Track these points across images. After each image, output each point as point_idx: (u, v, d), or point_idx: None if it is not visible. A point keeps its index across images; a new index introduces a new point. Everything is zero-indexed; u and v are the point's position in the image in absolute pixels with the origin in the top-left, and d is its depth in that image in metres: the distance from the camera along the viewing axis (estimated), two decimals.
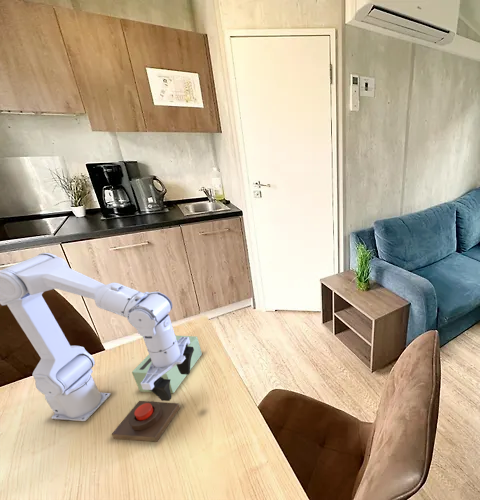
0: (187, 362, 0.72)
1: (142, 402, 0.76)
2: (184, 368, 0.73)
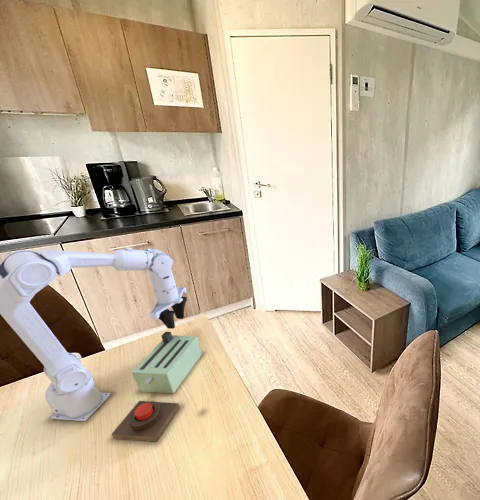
0: (181, 308, 0.92)
1: (142, 402, 0.76)
2: (179, 313, 0.93)
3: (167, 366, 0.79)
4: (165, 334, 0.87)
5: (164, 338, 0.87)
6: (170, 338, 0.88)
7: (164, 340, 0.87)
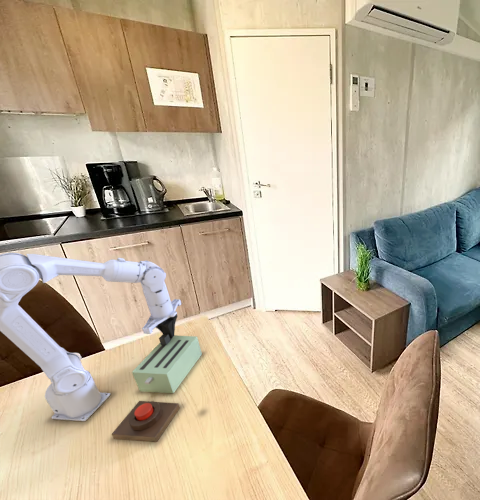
0: (172, 326, 0.88)
1: (142, 402, 0.76)
2: None
3: (167, 366, 0.79)
4: (163, 336, 0.86)
5: (162, 340, 0.86)
6: (168, 340, 0.87)
7: (162, 342, 0.86)
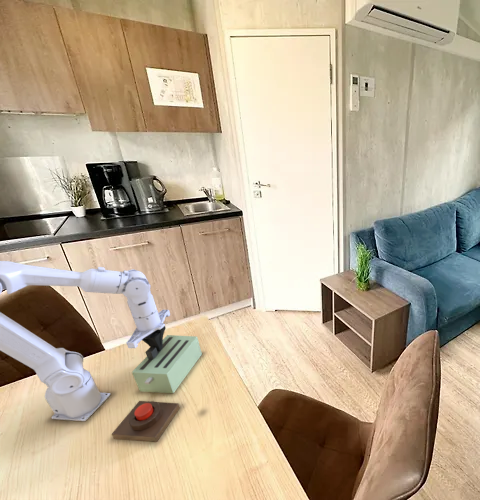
0: None
1: (142, 402, 0.76)
2: None
3: (167, 366, 0.79)
4: (150, 350, 0.81)
5: (148, 354, 0.81)
6: (155, 354, 0.82)
7: (148, 356, 0.81)
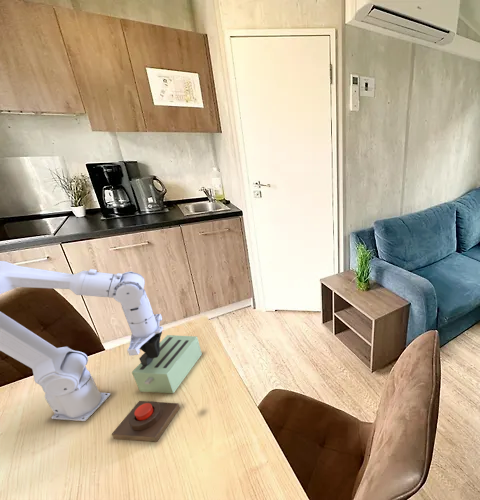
0: (157, 343, 0.79)
1: (142, 402, 0.76)
2: None
3: (167, 366, 0.79)
4: (144, 356, 0.79)
5: (142, 361, 0.79)
6: (149, 360, 0.80)
7: (142, 363, 0.79)
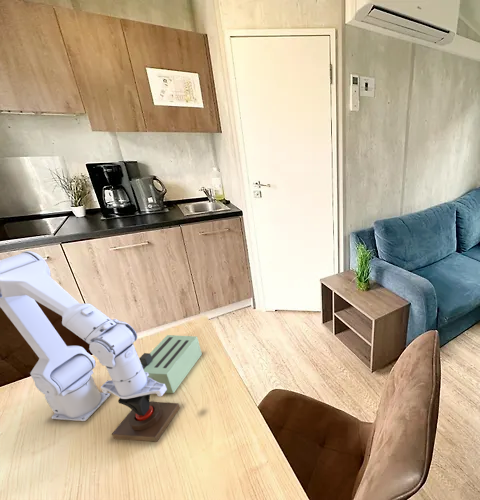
0: None
1: None
2: None
3: (167, 366, 0.79)
4: (144, 356, 0.79)
5: (142, 361, 0.79)
6: (149, 360, 0.80)
7: (142, 363, 0.79)
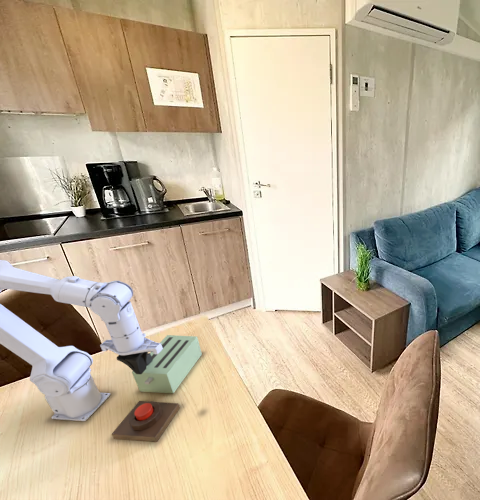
0: None
1: (142, 402, 0.76)
2: None
3: (167, 366, 0.79)
4: None
5: None
6: (149, 360, 0.80)
7: None
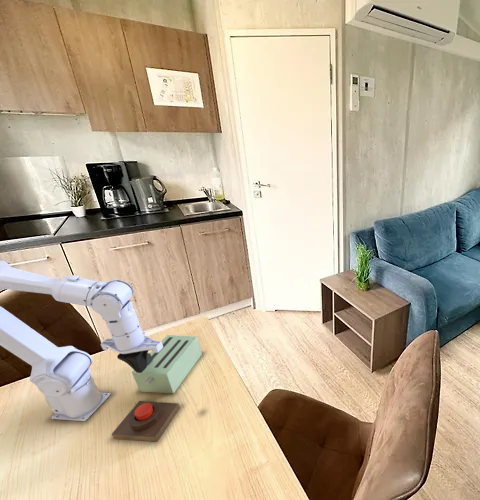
0: None
1: (142, 402, 0.76)
2: None
3: (167, 366, 0.79)
4: None
5: None
6: (149, 360, 0.80)
7: None
